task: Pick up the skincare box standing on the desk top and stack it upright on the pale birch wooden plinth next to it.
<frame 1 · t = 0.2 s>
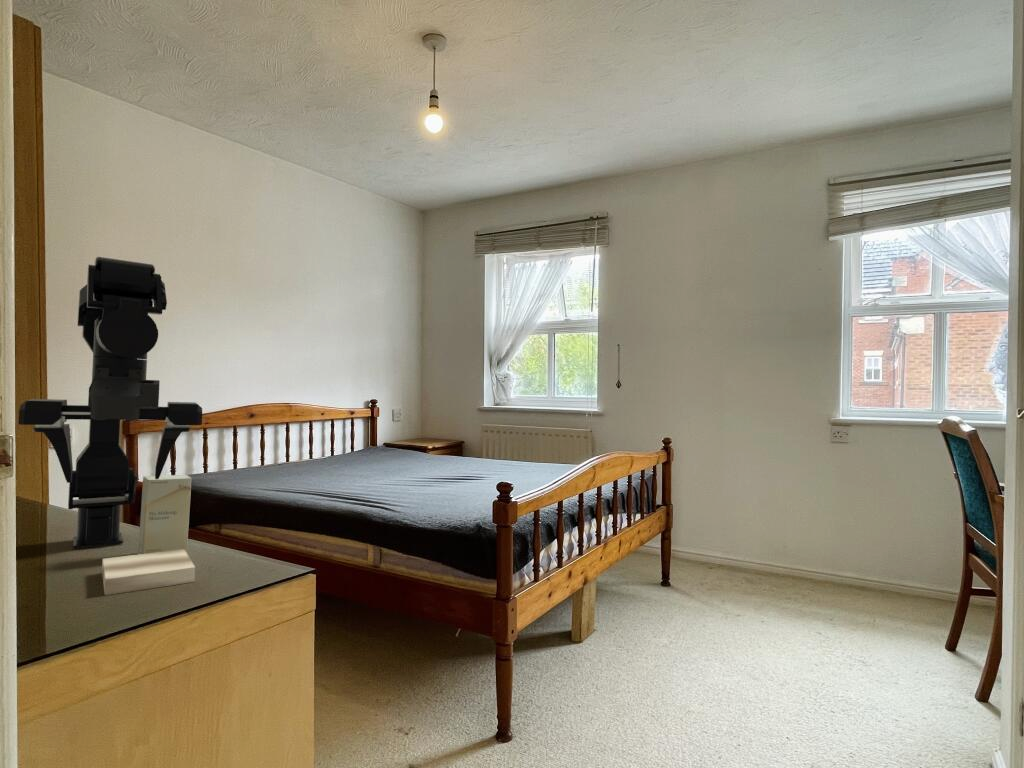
hand: (114, 480, 73), 14 cm above the table, fingers open, 9 cm apart
birch plinth: (147, 577, 79), on the table
skincare box: (163, 555, 90), on the table
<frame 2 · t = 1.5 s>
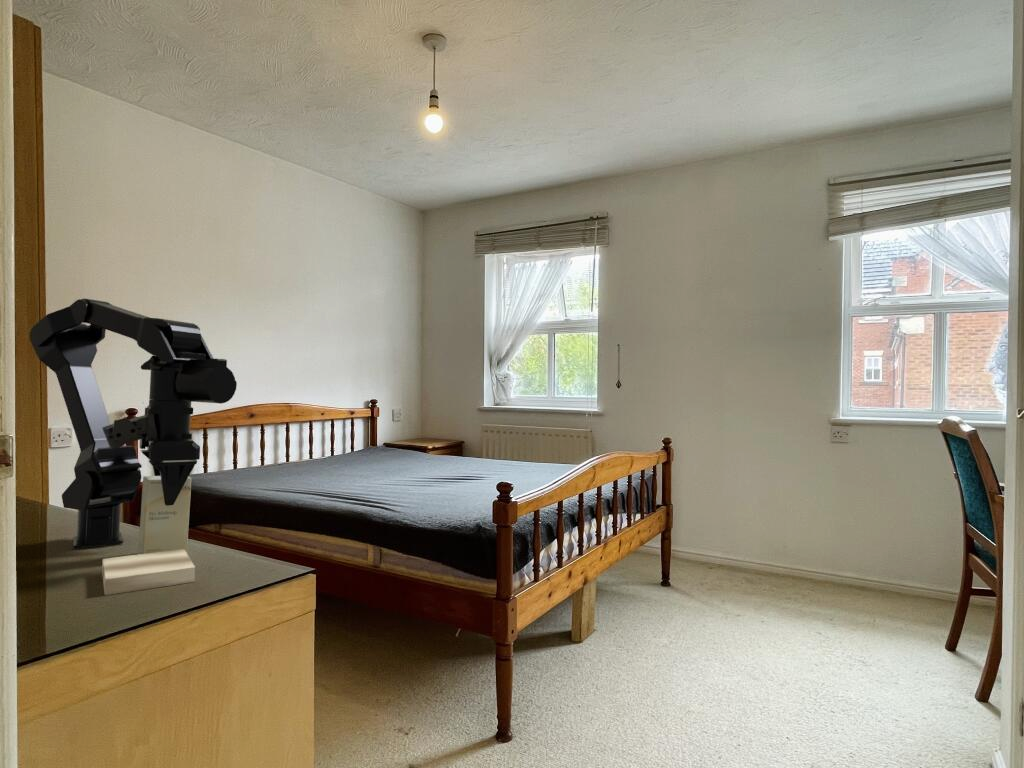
hand: (165, 499, 90), 9 cm above the table, fingers open, 9 cm apart
nothing on the table moved.
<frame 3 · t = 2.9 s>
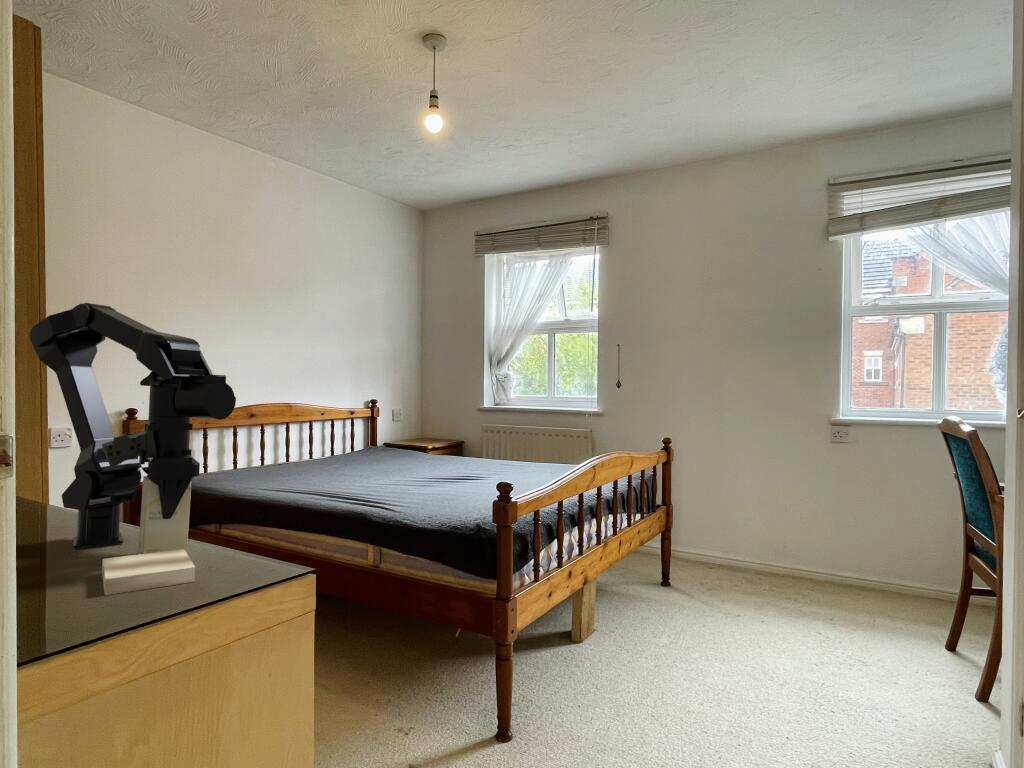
hand: (165, 515, 90), 6 cm above the table, fingers closed on skincare box, 4 cm apart
skincare box: (163, 555, 90), on the table, touching gripper
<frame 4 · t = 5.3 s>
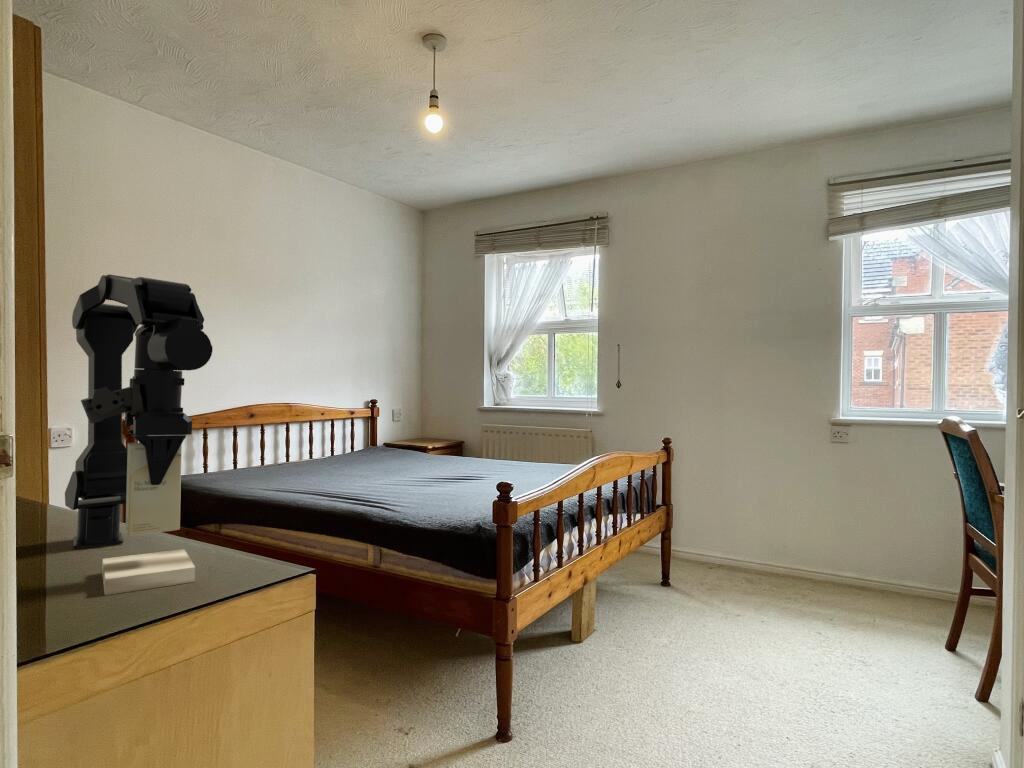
hand: (153, 482, 80), 13 cm above the table, fingers closed on skincare box, 4 cm apart
skincare box: (153, 531, 80), point 6 cm above the table, touching gripper
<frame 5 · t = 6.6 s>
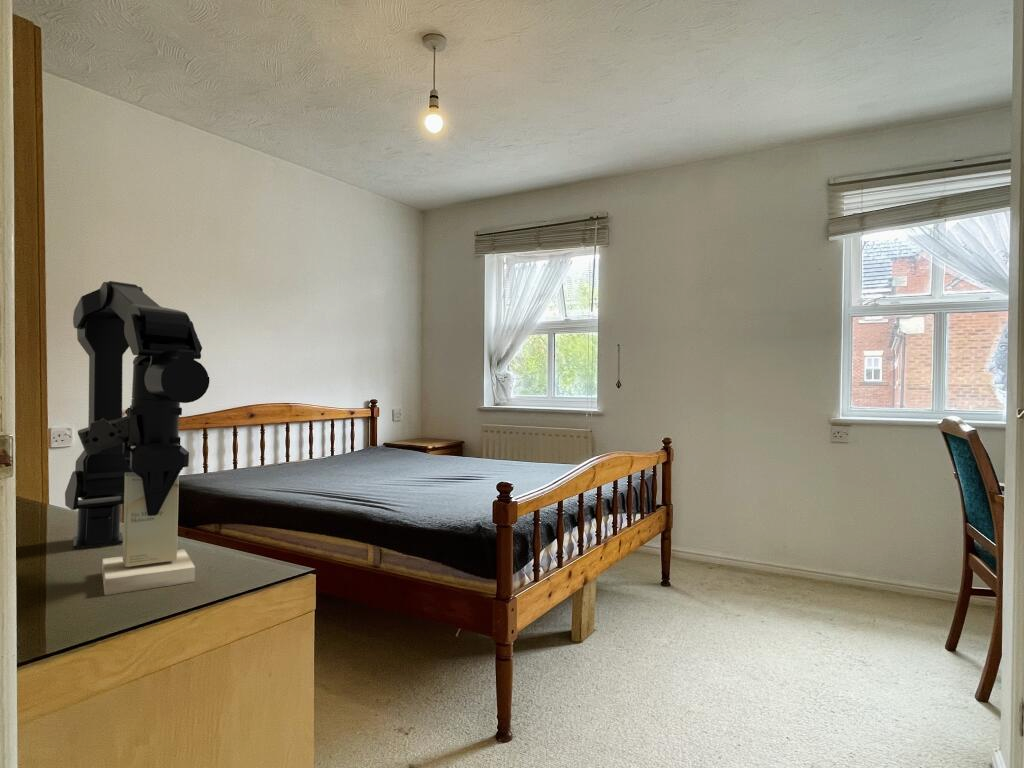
hand: (150, 511, 79), 9 cm above the table, fingers closed on skincare box, 4 cm apart
skincare box: (150, 561, 79), point 2 cm above the table, touching gripper
when the fingers open (9 cm above the table, at t = 7.6 s): skincare box stays where it is, resting on birch plinth.
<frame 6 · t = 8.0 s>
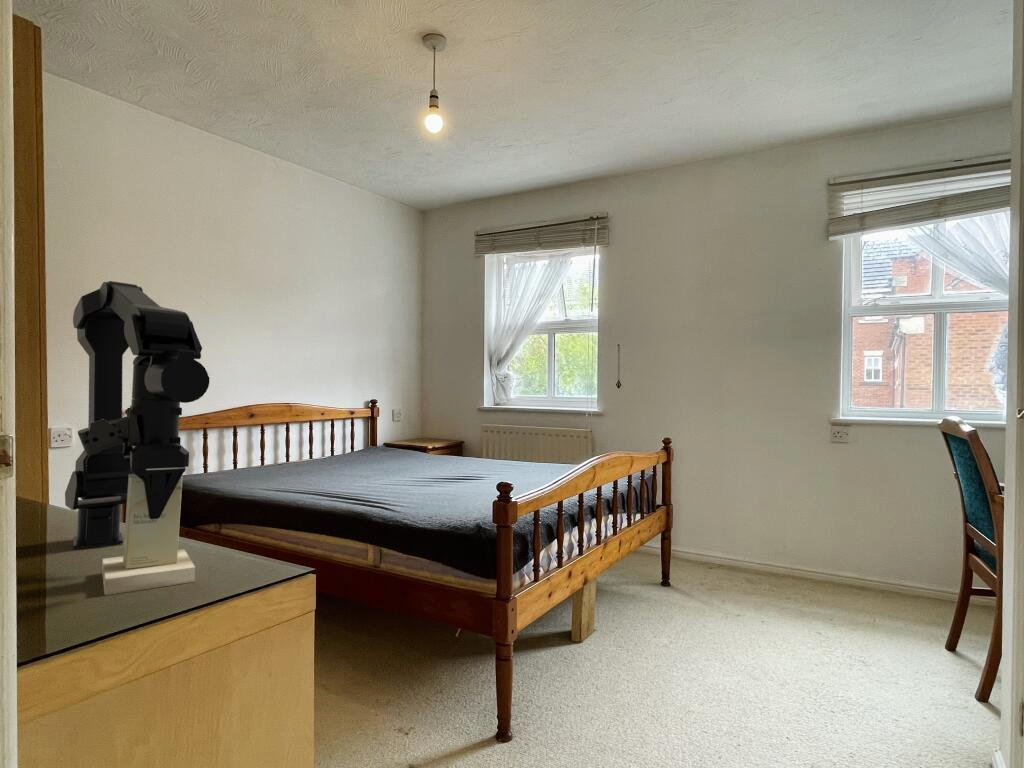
hand: (150, 512, 79), 9 cm above the table, fingers open, 9 cm apart
skincare box: (150, 563, 79), point 2 cm above the table, touching birch plinth
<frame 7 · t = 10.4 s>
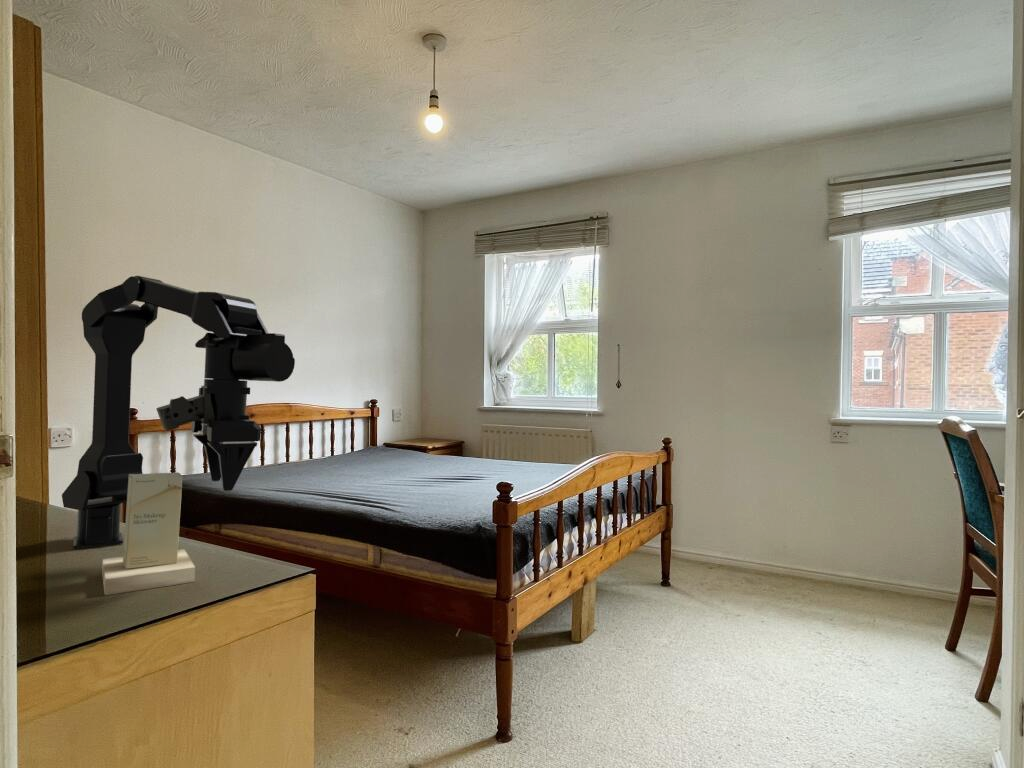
hand: (221, 485, 84), 12 cm above the table, fingers open, 9 cm apart
nothing on the table moved.
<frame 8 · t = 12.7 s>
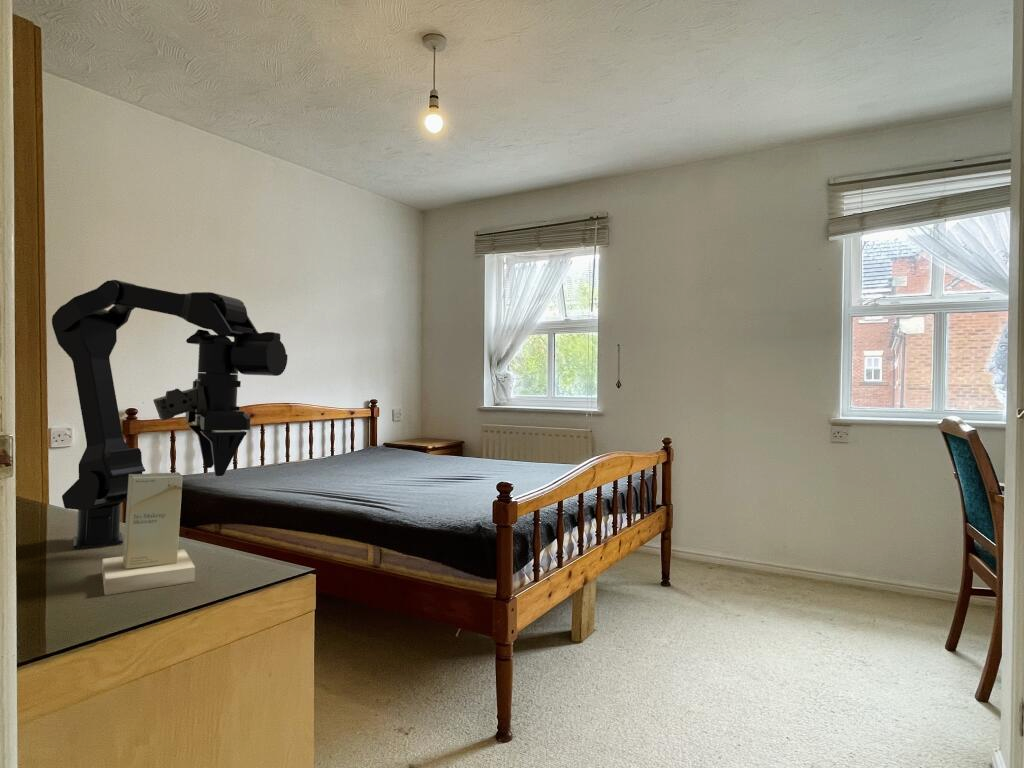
hand: (213, 471, 91), 13 cm above the table, fingers open, 9 cm apart
nothing on the table moved.
at the end: skincare box 0.3 cm off-centre on the birch plinth, point 1.8 cm above the birch plinth's base; skincare box tilted 0°; the gripper is holding nothing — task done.
